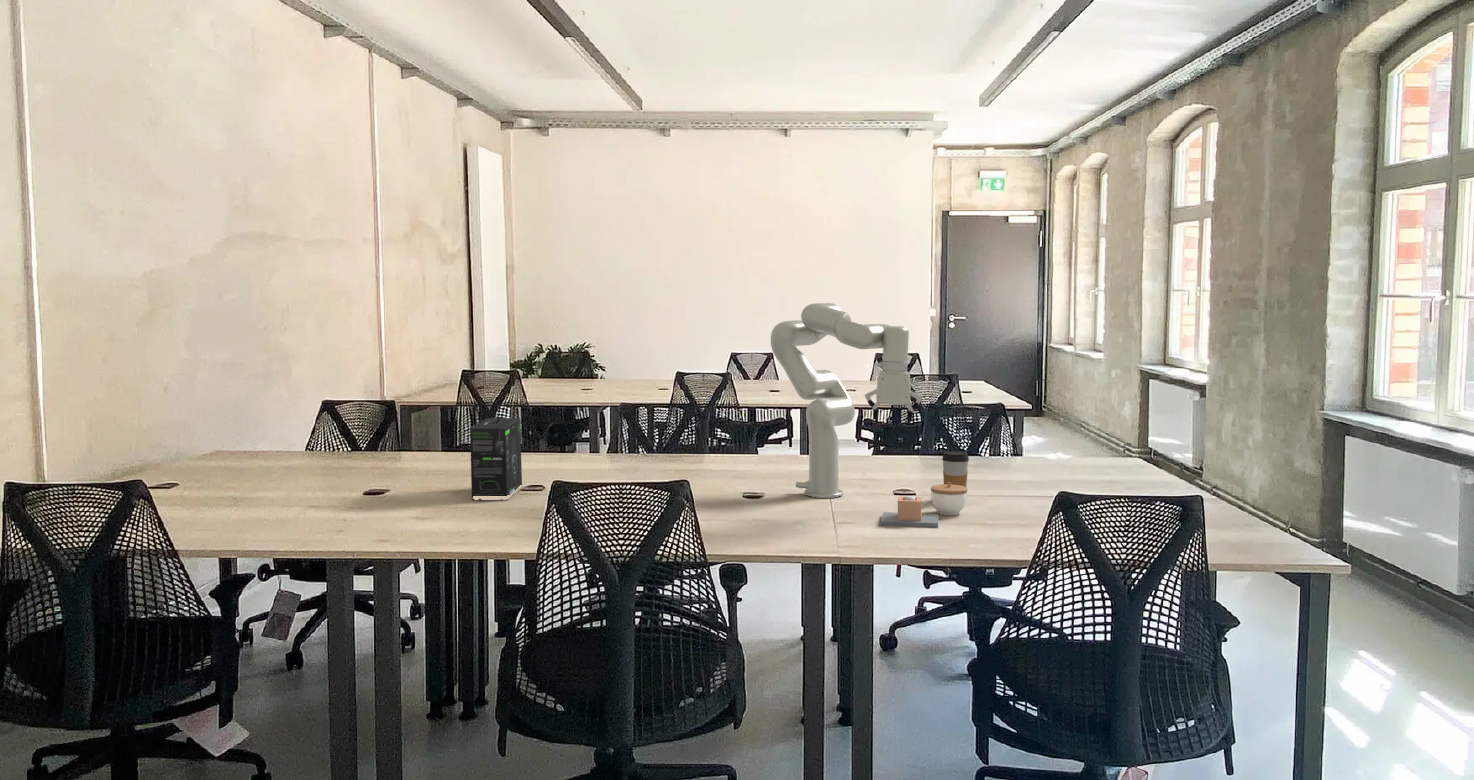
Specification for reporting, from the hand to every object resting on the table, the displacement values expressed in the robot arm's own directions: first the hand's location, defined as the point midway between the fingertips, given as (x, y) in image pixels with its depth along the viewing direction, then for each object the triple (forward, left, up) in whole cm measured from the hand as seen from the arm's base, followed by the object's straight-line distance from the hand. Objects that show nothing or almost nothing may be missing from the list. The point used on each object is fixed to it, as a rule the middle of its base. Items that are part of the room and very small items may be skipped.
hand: (892, 422), depth 322 cm
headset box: (-129, -1, -27) cm, 131 cm away
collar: (+6, -19, -25) cm, 32 cm away
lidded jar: (+17, -5, -27) cm, 32 cm away
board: (+6, -19, -26) cm, 33 cm away
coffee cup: (+19, +16, -26) cm, 36 cm away
